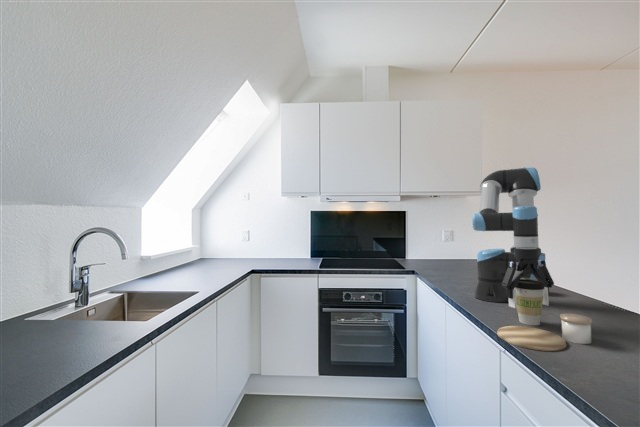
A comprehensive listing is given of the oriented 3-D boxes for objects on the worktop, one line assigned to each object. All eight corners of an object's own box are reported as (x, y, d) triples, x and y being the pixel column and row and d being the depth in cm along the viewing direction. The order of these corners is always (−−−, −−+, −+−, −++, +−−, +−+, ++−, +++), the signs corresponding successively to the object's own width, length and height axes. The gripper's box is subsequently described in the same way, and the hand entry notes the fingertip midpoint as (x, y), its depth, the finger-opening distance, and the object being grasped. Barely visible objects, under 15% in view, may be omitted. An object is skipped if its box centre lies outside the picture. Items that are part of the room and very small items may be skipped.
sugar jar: (554, 336, 96) (553, 314, 96) (574, 333, 98) (573, 312, 98) (579, 345, 89) (577, 322, 89) (599, 343, 90) (598, 320, 90)
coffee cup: (507, 320, 111) (506, 280, 111) (522, 316, 115) (521, 277, 116) (536, 329, 102) (535, 285, 102) (551, 323, 107) (550, 282, 107)
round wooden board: (484, 330, 102) (484, 328, 102) (529, 325, 105) (529, 323, 105) (530, 354, 84) (530, 351, 84) (582, 347, 88) (582, 344, 88)
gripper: (504, 250, 103) (507, 311, 103) (564, 247, 108) (567, 306, 107) (488, 248, 111) (491, 305, 110) (545, 245, 115) (547, 300, 114)
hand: (528, 305), depth 109 cm, fingers open, 13 cm apart
